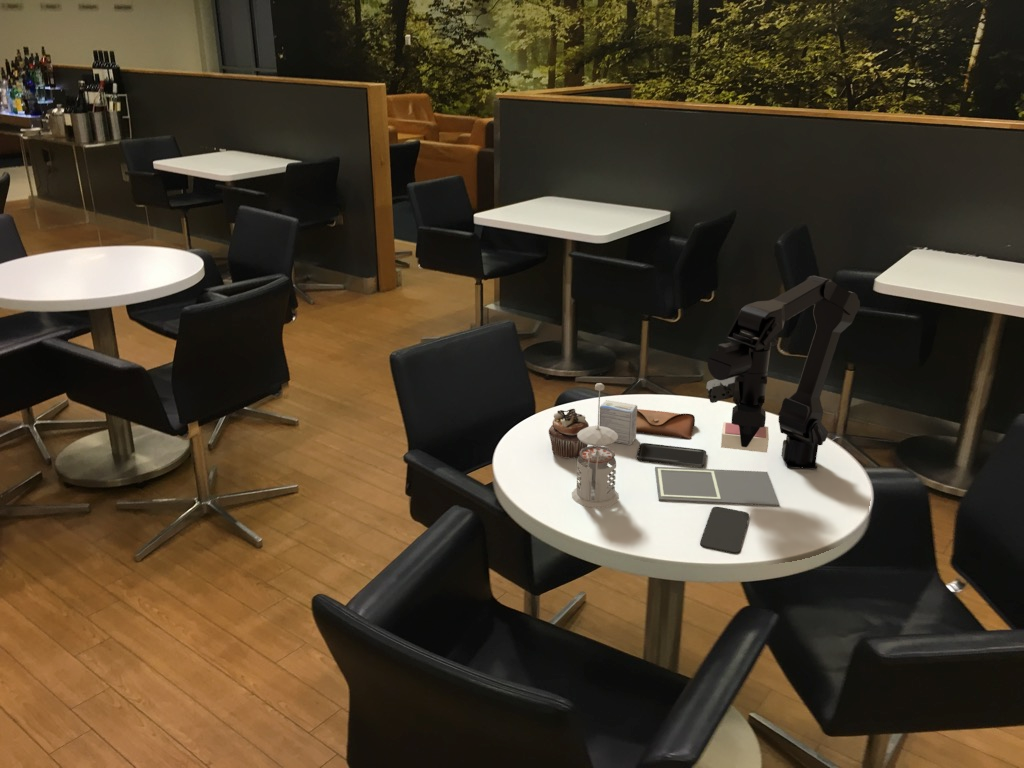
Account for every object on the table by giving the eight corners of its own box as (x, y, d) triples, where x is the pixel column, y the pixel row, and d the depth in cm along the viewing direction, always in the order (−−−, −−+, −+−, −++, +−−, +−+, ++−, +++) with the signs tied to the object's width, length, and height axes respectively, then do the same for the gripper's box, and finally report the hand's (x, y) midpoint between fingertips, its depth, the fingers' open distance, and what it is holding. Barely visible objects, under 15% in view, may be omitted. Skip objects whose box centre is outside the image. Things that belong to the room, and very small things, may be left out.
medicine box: (636, 438, 199) (638, 404, 196) (630, 446, 195) (632, 411, 192) (604, 432, 202) (605, 399, 199) (598, 439, 198) (599, 406, 195)
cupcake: (599, 452, 192) (600, 412, 188) (565, 464, 187) (566, 423, 183) (572, 437, 200) (573, 398, 196) (539, 448, 194) (540, 408, 191)
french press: (621, 486, 178) (627, 376, 168) (615, 514, 167) (621, 398, 158) (575, 481, 180) (578, 372, 170) (566, 509, 169) (569, 394, 160)
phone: (698, 544, 157) (712, 505, 169) (698, 548, 157) (712, 509, 170) (739, 553, 154) (750, 512, 167) (739, 557, 154) (750, 516, 167)
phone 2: (640, 442, 195) (706, 449, 192) (640, 446, 196) (706, 454, 192) (636, 457, 188) (704, 465, 185) (635, 462, 189) (704, 470, 185)
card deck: (766, 439, 175) (768, 426, 173) (767, 452, 169) (768, 438, 168) (721, 435, 177) (723, 421, 176) (720, 447, 171) (722, 433, 170)
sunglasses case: (616, 431, 202) (619, 404, 203) (619, 434, 209) (621, 408, 210) (693, 439, 198) (695, 411, 199) (693, 442, 205) (695, 415, 206)
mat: (767, 473, 183) (767, 471, 183) (779, 506, 170) (779, 504, 170) (654, 468, 185) (655, 466, 185) (658, 500, 172) (658, 498, 172)
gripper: (712, 349, 177) (706, 417, 183) (708, 381, 160) (701, 455, 166) (768, 354, 174) (759, 423, 180) (769, 387, 158) (760, 462, 164)
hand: (744, 440), depth 173 cm, fingers closed on card deck, 6 cm apart
